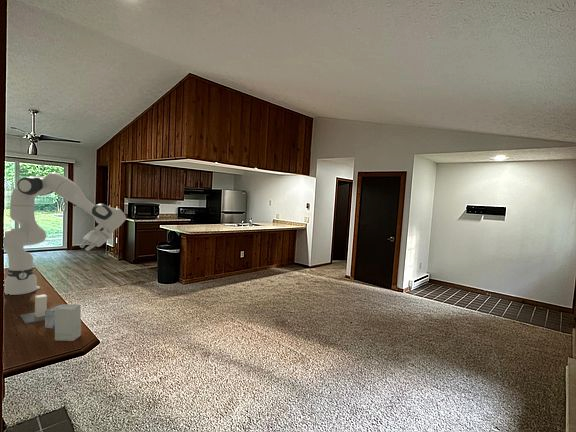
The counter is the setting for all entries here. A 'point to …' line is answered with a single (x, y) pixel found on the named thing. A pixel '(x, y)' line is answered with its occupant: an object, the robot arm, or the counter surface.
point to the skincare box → (67, 322)
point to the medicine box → (50, 318)
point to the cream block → (40, 305)
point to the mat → (31, 318)
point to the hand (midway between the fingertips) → (83, 248)
